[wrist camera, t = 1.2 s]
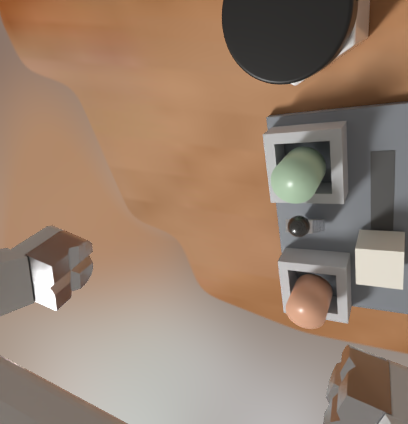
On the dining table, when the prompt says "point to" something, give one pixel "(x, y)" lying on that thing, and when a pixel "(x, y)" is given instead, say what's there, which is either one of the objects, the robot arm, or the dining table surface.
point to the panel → (344, 198)
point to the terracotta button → (309, 301)
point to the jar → (292, 35)
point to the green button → (298, 175)
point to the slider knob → (380, 258)
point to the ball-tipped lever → (304, 226)
